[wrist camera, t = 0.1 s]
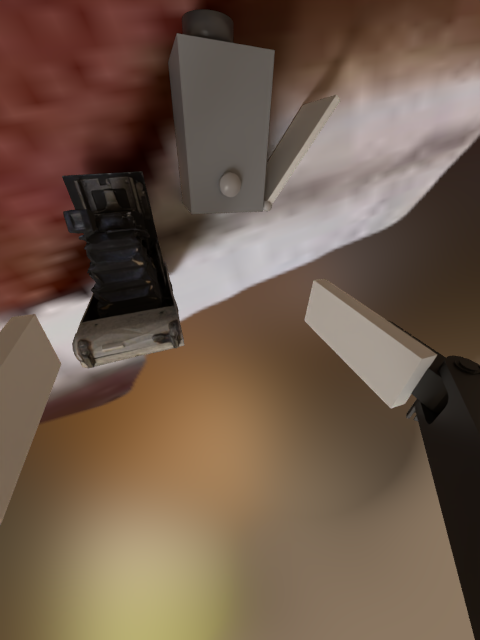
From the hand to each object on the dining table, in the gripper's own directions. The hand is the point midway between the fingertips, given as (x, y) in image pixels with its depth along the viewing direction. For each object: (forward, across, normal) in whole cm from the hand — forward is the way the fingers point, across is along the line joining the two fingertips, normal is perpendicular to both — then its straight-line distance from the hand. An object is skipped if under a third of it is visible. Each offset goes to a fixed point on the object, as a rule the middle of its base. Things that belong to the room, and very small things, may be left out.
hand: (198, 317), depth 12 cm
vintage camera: (+28, -5, -3) cm, 29 cm away
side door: (+27, +17, +7) cm, 33 cm away
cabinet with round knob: (+28, +8, +8) cm, 30 cm away
